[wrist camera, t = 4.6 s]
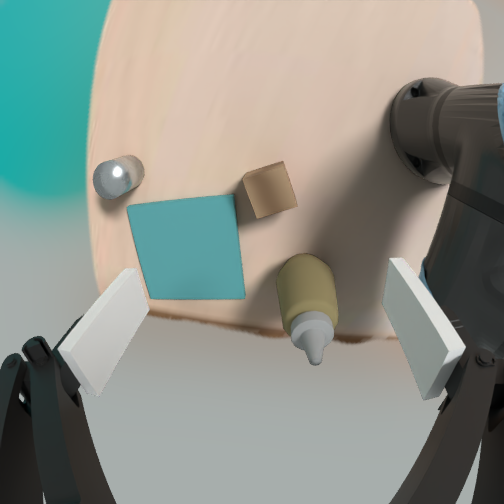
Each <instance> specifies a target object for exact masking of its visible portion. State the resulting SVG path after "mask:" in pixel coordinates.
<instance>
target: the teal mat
mask: <svg viewBox="0 0 504 504" xmlns="http://www.w3.org/2000/svg"><path fill="white" fill-rule="evenodd" d="M127 211H128V216H129V220H130V224H131V229H132V233H133V237H134V241H135V245H136V249H137V253H138V256H139V260H140V264H141V267H142V271H143V274H144V278H145V281H146V285H147V288H148V291H149V294H150V298H151V299H245V296H246V294H245V286H244V278H243V269H242V261H241V252H240V243H239V235H238V226H237V217H236V208H235V199H234V194H231V195H218V196H207V197H196V198H186V199H177V200H168V201H159V202H151V203H143V204H135V205H129V206H128V207H127Z"/></svg>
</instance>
